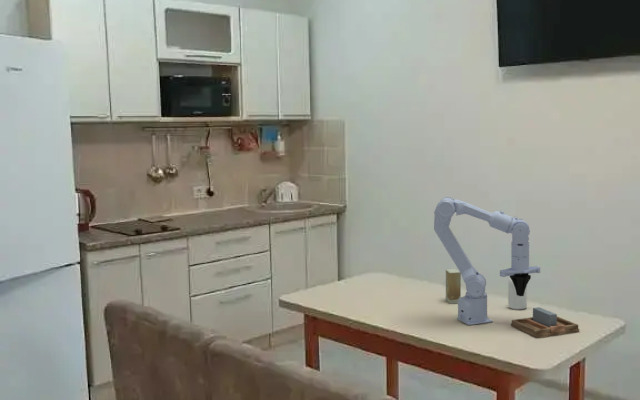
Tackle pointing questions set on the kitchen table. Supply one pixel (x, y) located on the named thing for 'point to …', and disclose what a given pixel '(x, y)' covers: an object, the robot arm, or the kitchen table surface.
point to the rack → (544, 327)
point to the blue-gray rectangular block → (544, 317)
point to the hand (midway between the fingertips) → (520, 295)
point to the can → (516, 297)
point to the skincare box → (453, 285)
